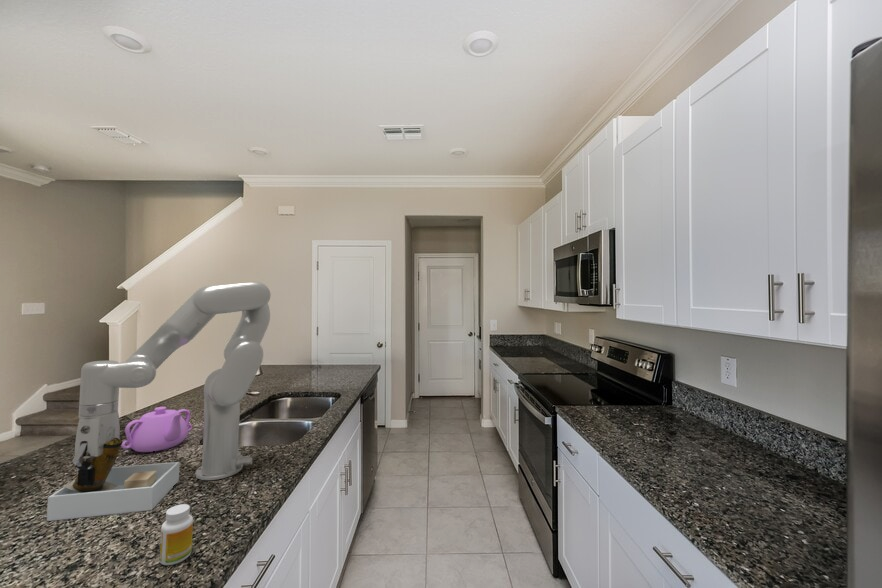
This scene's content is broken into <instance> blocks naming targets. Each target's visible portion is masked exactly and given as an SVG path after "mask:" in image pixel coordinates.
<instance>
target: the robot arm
mask: <svg viewBox="0 0 882 588" xmlns="http://www.w3.org/2000/svg"><path fill="white" fill-rule="evenodd" d="M271 295H272V293H271V291H270V289H269V287H268V286H267V285H266V284H264V283H262V282H260V281H250V282H249V281H248V282H241V283H231V284H229V283H228V284H217V285H215V284H214V285H207V286H206V285H205V286H202V287H201V288H199V289H197V290H196V291H195V292H194V293H193V294H192V295H191V296H190V297H189V298H188V299H187V300H186V301H184V303H183V304H182V305H181V306H180V307H179V308H178V309H177V310H176V311H175V312H174V313H173V314H172V315H171V316H170V317H168V318H167V320H165V322H164V323H162V325H160V327H158V329H157V330H156V331H155V332H154V333H153V334H152V335H151V336H150V337H149V338H148V339H147V340H146V341H145V342H144V343H142V344H141V346H140V347H139V348H137V350H135V351H134V353H132V354H131V355H130V356H129V357H128V358H127V359H126V361H123V362H119V361H117V360H95V361H90V362H89V361H88V362H86V363H84V364H83V365H82V367H81V369H80V371H81V372H80V385H79V402H78V403H79V404H78V418H79V419H78V423H77V428H76V436H75V444H74V457H73V459H72V461H71V462H72V464H74V466H75V467H76V471H77V475H78V483H77V485H78V486H81V485H92V484H93V483H94V479H95V468H93V466H94V462H95V457H98V456H101V455H102V454H103V446H104V444H105V443H108V442H110V441H111V440H113V439H114V438H118V439H120V431H121V429H120V414H119V400H120V399H119V398H120V396H119V395H120V389H121V388H123V389H125V388H126V389H136V388H139V389H140V388H143V387H145V386H148V385H150V384H151V383H152V382H153V381H154V380H155V378H156V376H157V369H158V368H159V367H160V366H161V365H162V364H163V363H164V362H165V361H166V360H168V358H169V357H171V355H172V354H173V353H175V352H176V351H177V350H178V349H180V348H181V347H182V346H183V347H184V346H185V345H187V344H188V343H190V342H191V341H192V340H193V339H194V338H195V337H196V336H197V335H198V334H199V333H200V332H201V331H202V330H203V329H204V328H205V327H206V326H207V325H208V324H209V322H210V321H212V319H214V318H215V316H216V315H220V314H221V315H222V314H231V313H236V312H237V313H238V312H241V316H240V320H239V322H238V324H237V325H236V328H235V331H234V332H233V333H232V335H231V338H230V339H229V341H228V343H227V344H226V346H225V348H224V350H223V357H224V359H225V360H224V361H225V362H224V363H223V365H222V367H221V368H218V369H216V370H214V371H212V372H211V373H209V375H208V376H207V377H206V379H205V382H204V385H203V400H204V401H203V402H204V404H203V405H204V407H203V409H204V413H203V433H202V436H203V438H202V456H201V457H202V459H201V463H202V464H201V466H199V467H198V468H197V469H196V470H195V478H197V479H198V480H202V481H215V480H220V479H225V478H228V477H231V476H234V475H236V474H238V473H239V472H241V470H242V469H244V465H245V466H246V465H247V466H248V465H252V464H253V457H251V455H245V456H244V455H242V454H241V452H242V451H239V439H240V438H239V437H240V417H241V415H240V414H241V413H240V411H241V410H240V409H241V408H240V406H241V405H240V401H242V400H243V399H244V398H245V397H246V395H247V393H248V391H249V389H250V387H251V385H252V383H253V381H254V380H255V377H256V376H257V373H258V372H259V369H260V368H261V366H262V362H263V359H264V348H263V347H262V345H261V342H262V341H263V339H264V337H265V334H266V332H267V330H268V327H269V324H270V321H271V309H270V305H269V302H270V301H271ZM120 440H121V439H120ZM88 454H90V455H91V456H87V455H88ZM89 458H90V461H89V463H88V462H87V461H85V460H86V459H89ZM110 471H111V470H110Z"/></svg>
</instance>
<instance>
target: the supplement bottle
mask: <svg viewBox="0 0 882 588" xmlns="http://www.w3.org/2000/svg"><path fill="white" fill-rule="evenodd" d="M190 507H191V506H190V505H189V504H186V503H183V504H182V503H181V504H177V505H174V506H171V507H170V508H168V509H167V510H166V513H165V520H164V522H163V523H162V525H161V528H160V541H159V546H160V547H159V563H160V564H161V565H163V566H172V565H173V566H174V565H177V564H179V563H181V562H183V561H185V560H186V559H187V558H189V556H190V555H191V554H192V551H193V532H194V531H193V530H194V529H193V528H194V517H193V516H192V515H191V514H190V510H191V508H190Z"/></svg>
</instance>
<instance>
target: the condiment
mask: <svg viewBox="0 0 882 588" xmlns="http://www.w3.org/2000/svg"><path fill="white" fill-rule="evenodd" d="M122 442H123V441H122V439H118V438H114V439H113V440H111V441H110V442H108V443H105V444H104V446H103V454H102V455H101V456H98V457H95V462H94V466H93V468H95V479H94V483H93V484H92V485H81V486H78V485H77V483H78V474H77V475H76V477H75V479H74V480H75V481H74V480H72V481H73V482H72V481H71V482H68V483H66V484H64V485H62V488H63V487H65V488H68V489H71V490H73V491H76V492H79V493H87V492H98V491H109V490H111V489H113V488H115V487H117V485H115V484H112V483H109V482H106V481H105V480H106V478H107V476H108V475H109V472H110V470H111V468H112V467H114V465H115V462H116V461H117V458H118V456H119V453H120V449H121V445H122ZM86 456H91V455H90V454H86ZM85 461H87V462H88V463H89V461H90V458H89V459H85Z"/></svg>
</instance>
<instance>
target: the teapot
mask: <svg viewBox="0 0 882 588" xmlns="http://www.w3.org/2000/svg"><path fill="white" fill-rule="evenodd" d="M183 413H185V418H184V417H183V416H182V414H183ZM190 419H191V412H190V410H188V409H185V408H182V409H178V410H176V409H167V407H166V406H159V407H155V408H154V410H153V411H150V412H146V413H144V414H143V415H141V416H140V418H139V419H134V420H131V421H130V422H128V423H127V424H126V425H125V428H124V433H125V436H126V439H124V440H123V441H122V445H121V446H120V448H122V449H124V450H127V449H130V448H131V449H132V450H133V451H135V452H138V453H154V452H153V451H155V452H159V451H164V450H168V449H170V448H174V447H176V446H179V445H180V444H181V443H182V442H183V441H184V440H185V439H186V438H187V437H188V435H189V432H190V431H191V430H192V429H193V425H192V424H191V423H189V421H190ZM133 425H134V426H133ZM132 426H133V427H132ZM131 427H132V429H131Z"/></svg>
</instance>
